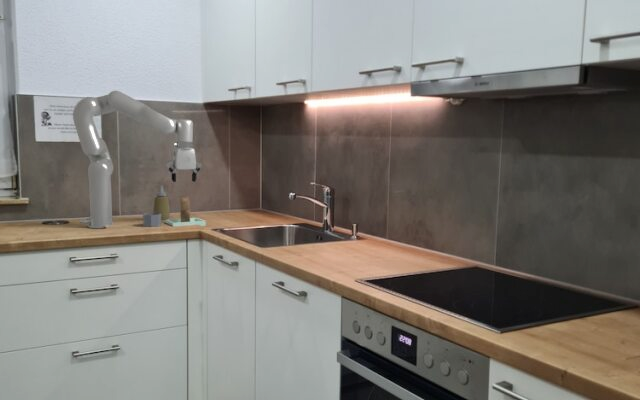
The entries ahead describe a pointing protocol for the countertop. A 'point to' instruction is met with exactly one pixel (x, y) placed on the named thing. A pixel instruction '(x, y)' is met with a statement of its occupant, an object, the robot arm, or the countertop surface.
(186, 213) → the walnut pin
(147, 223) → the grey block
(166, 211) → the squeeze bottle
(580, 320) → the countertop surface
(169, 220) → the pale green tray
